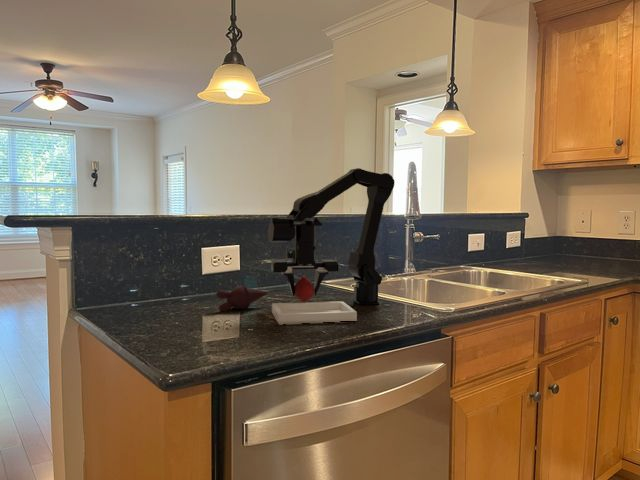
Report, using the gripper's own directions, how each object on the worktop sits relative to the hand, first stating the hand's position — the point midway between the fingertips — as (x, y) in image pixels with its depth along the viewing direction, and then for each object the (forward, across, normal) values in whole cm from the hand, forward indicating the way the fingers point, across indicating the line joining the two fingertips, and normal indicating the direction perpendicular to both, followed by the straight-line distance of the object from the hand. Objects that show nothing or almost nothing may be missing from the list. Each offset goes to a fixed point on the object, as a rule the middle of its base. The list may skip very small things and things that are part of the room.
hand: (304, 295), depth 136 cm
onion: (+2, 0, 0) cm, 2 cm away
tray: (+3, 0, +12) cm, 12 cm away
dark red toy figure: (+4, +18, 0) cm, 18 cm away
